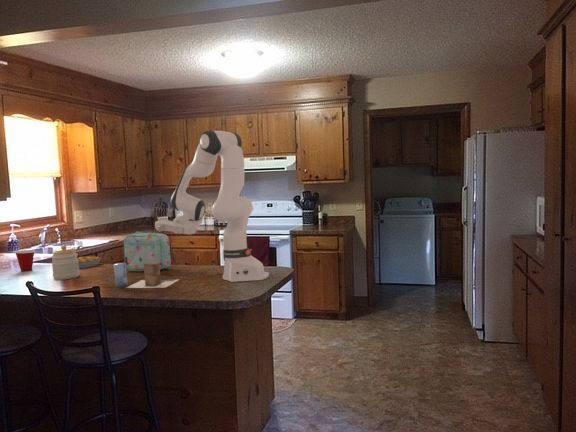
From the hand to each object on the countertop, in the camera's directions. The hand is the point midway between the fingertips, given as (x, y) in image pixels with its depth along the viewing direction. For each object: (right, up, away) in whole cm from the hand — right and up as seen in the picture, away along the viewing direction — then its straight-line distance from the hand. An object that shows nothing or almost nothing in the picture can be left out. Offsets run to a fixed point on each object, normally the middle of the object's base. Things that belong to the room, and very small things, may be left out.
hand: (166, 230), depth 227 cm
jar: (-60, -26, +25) cm, 70 cm away
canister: (-20, -27, -5) cm, 33 cm away
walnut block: (-5, -25, -6) cm, 26 cm away
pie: (-67, -24, +60) cm, 93 cm away
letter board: (-5, -26, -4) cm, 26 cm away
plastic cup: (-97, -26, +53) cm, 113 cm away
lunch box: (-19, -23, +34) cm, 45 cm away
